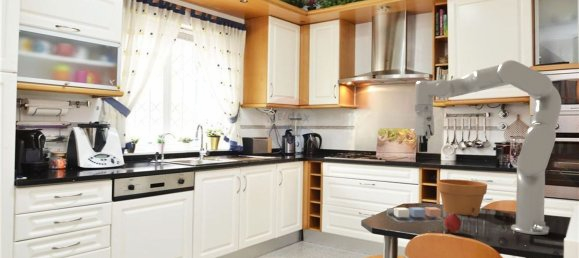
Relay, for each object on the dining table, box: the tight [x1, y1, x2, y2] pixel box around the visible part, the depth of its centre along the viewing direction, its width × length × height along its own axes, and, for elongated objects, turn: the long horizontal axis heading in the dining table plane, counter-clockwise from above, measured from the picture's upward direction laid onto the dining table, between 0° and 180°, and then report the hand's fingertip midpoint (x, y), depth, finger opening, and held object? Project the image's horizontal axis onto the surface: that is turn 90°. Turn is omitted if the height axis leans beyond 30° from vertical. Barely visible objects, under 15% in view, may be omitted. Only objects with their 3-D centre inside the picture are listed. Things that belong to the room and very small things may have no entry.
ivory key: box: [393, 207, 409, 217], centre depth 180 cm, size 5×5×3 cm
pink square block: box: [424, 206, 442, 218], centre depth 182 cm, size 5×5×3 cm
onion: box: [444, 212, 462, 234], centre depth 162 cm, size 6×6×8 cm
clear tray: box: [386, 207, 446, 223], centre depth 181 cm, size 13×22×4 cm, turn 98°
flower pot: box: [437, 178, 488, 218], centre depth 197 cm, size 21×21×15 cm
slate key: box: [409, 206, 425, 217], centre depth 181 cm, size 5×5×3 cm
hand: (423, 151), depth 185 cm, fingers closed
